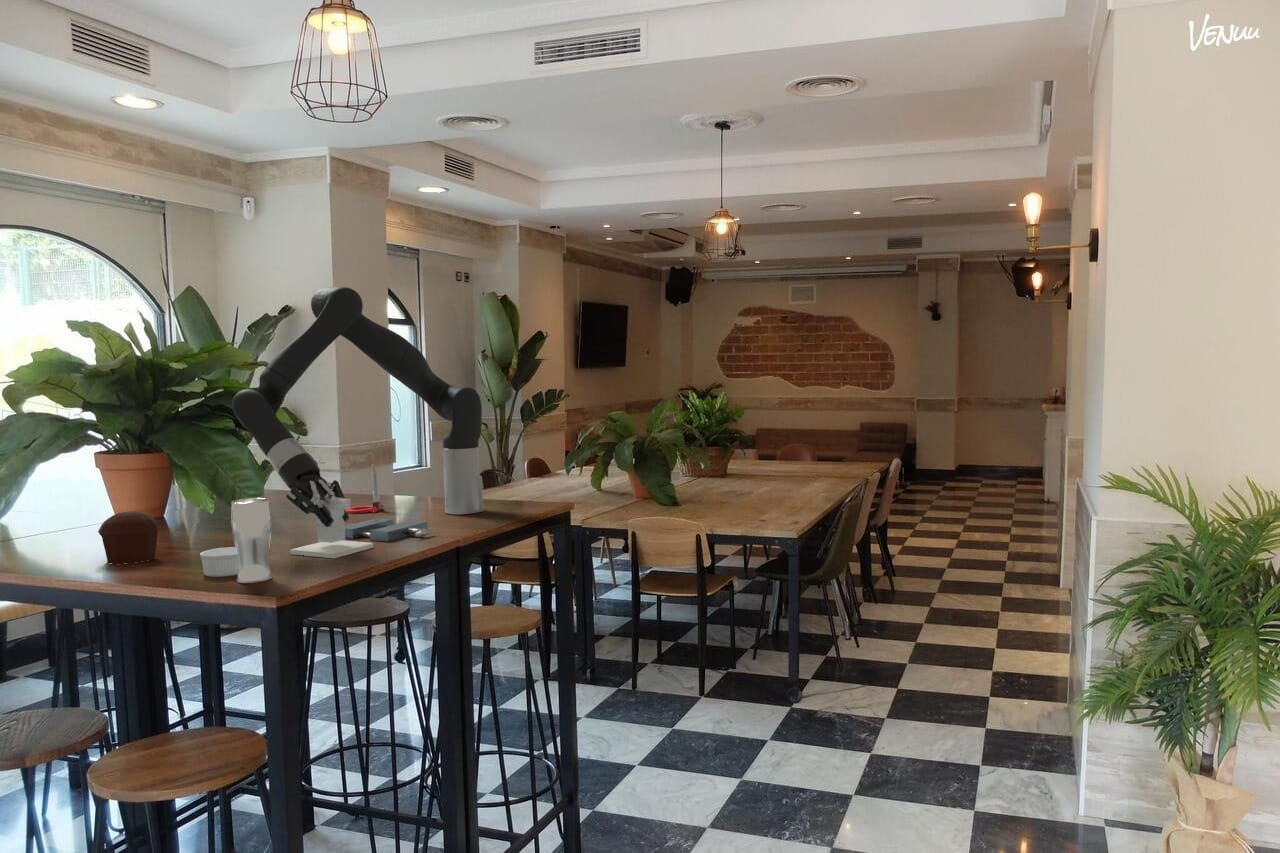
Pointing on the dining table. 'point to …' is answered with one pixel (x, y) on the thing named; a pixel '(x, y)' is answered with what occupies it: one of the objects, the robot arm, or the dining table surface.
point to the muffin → (129, 537)
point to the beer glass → (252, 538)
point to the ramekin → (220, 562)
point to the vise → (386, 529)
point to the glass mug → (337, 513)
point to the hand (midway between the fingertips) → (338, 522)
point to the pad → (331, 549)
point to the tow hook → (376, 502)
